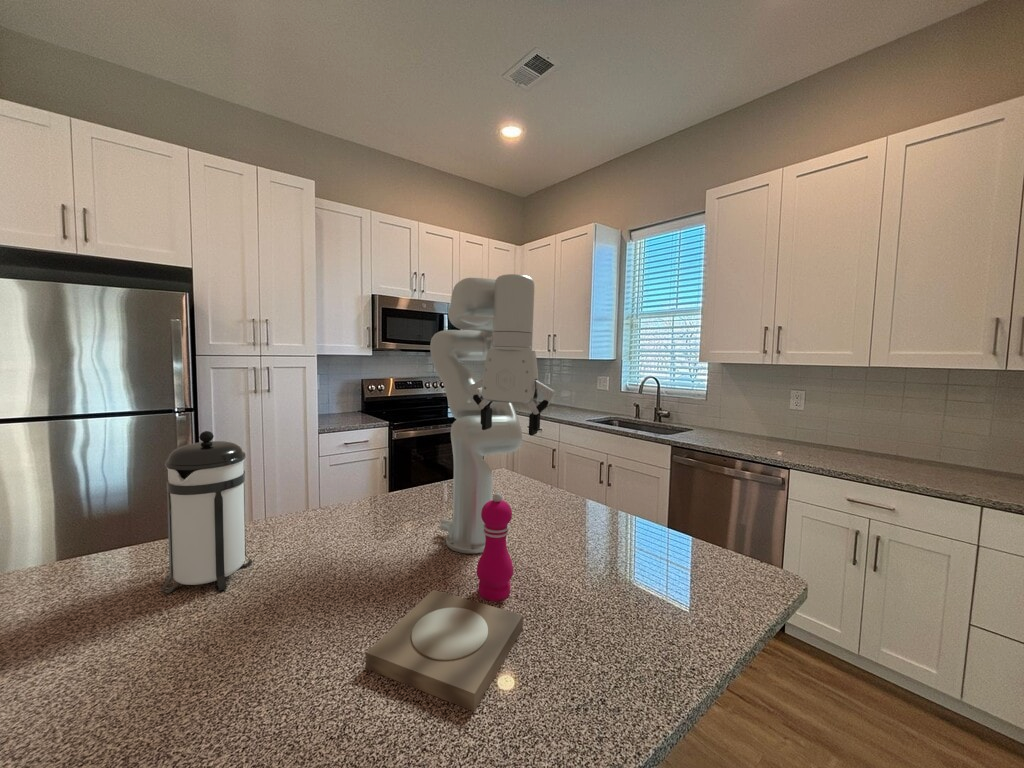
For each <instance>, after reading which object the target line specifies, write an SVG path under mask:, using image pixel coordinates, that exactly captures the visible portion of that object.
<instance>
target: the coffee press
mask: <svg viewBox="0 0 1024 768" xmlns="http://www.w3.org/2000/svg"><path fill="white" fill-rule="evenodd" d="M213 439H214V434H213V432H212V431H209V430H204V431H203V432H201V433H200V435H199V440H200V441H201V442H193V443H190V444H185V445H181V446H180V447H177V448H176V449H174V450H172V451H171V452H170V453H169V455H168V458H167V459H166V460H164V466H165V468H166V469H167V479H166V491H167V497H166V498H167V502H166V503H167V525H168V526H167V532H168V533H167V534H168V535H167V537H168V561H169V562H168V563H169V564H168V565H169V568H168V569H169V570H168V571H169V575H168V577H167V579H166V581H165V582H164V584H163V585H162V587H161V590H162V592H163V593H164V594H166V595H167V594H171V593H172V592H173V591H174V590H175V589H176V588H177V587H178V586H179V585H188V586H196V585H204V584H208V583H212V582H213V584H214V586H215V589H216V590H215V591H216V592H217V593H219V592H222V591H225V590H226V589H227V588H228V587H227V586H228V585H227V581H226V578H227V577H229V576H231V575H233V574H234V573H235V572H237V571H238V570H239V569H240V568H241V567H242V566H244V567H246V568H247V567H249V566H250V567H251V565H252V563H253V560H252V559H251V558H250V557H249V556H248V555H247V549H246V513H245V512H246V511H245V510H246V508H245V507H246V504H245V503H246V502H245V498H246V495H245V481H246V473H245V472H246V471H245V470H244V462H245V459H246V456H247V455H246V452H244V451H243V449H242V447H241V446H240V445H238V444H236V443H234V442H231V441H224V440H223V441H220V440H215V441H214V440H213ZM245 557H246V558H248V561H247V563H244V562H245ZM172 580H173V581H175V582H174V583H173V584H172V586H171V587H169V589H167V590H166V588H168V585H169V584H170V583H171V581H172Z"/></svg>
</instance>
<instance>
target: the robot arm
mask: <svg viewBox="0 0 1024 768" xmlns="http://www.w3.org/2000/svg"><path fill="white" fill-rule="evenodd" d="M534 281H535V280H533V278H532V277H531V276H528V275H524V274H516V273H513V274H512V273H509V274H508V273H507V274H502V275H498V277H497V278H496V279H495V278H494V279H492V278H482V277H466V278H463V279H461V280H459V281H458V282H457V283H455V286H453V290H452V292H451V295H450V296H451V298H450V305H449V308H448V311H447V316H448V318H447V319H448V321H449V322H450V323H451V325H452V326H453V327H455V328H456V329H444V330H440V331H438V332H436V333H434V334H433V336H432V337H431V340H430V346H429V348H430V351H429V352H430V356H431V357H430V358H431V361H432V364H433V367H434V370H435V372H436V373H437V375H438V377H439V379H440V380H441V381H442V384H443V386H444V390H445V391H444V392H445V394H446V398H447V403H448V406H449V410H450V413H451V415H452V417H453V418H454V419H455V420H454V421H453V423H452V424H451V427H450V441H451V448H452V449H451V450H452V455H453V456H452V459H453V487H452V488H453V492H452V493H453V494H452V495H453V497H452V504H453V505H452V520H451V519H447V518H441V521H440V526H439V530H440V531H444V532H447V536H446V537H445V545H446V546H447V547H448V548H449V549H450V550H452V551H454V552H456V553H460V554H472V555H473V554H482V553H483V551H484V548H485V541H486V537H485V534H484V533H483V530H484V528H483V526H484V524H485V523H484V522H483V520H482V518H481V511H482V508H483V506H484V505H485V504H486V503H487V502H489V501H491V500H493V478H494V477H493V471H492V467H490V465H489V464H488V462H486V460H485V459H484V456H487V455H497V454H509V453H514V452H516V451H517V450H518V449H520V447H521V445H522V443H523V431H522V426H521V423H520V421H519V418H518V415H517V413H516V410H515V407H514V405H513V404H523V405H527V407H528V408H529V410H530V412H531V413H530V414H529V418H528V435H529V436H530V437H531V436H532V437H533V436H534V435H537V434H538V431H540V430H541V413H542V412H544V410H546V408H548V407H549V406H550V405H551V402H552V401H553V399H554V398H555V395H556V391H555V390H554V389H552V388H550V387H549V386H547V385H545V384H544V383H542V382H541V381H540V380H539V371H538V361H537V359H538V358H537V353H536V350H533V339H534V338H533V335H534V334H533V332H534V308H535V282H534ZM461 361H468V362H469V361H473V362H474V361H477V362H482V361H485V362H484V368H483V373H482V374H483V375H482V379H480V380H478V381H477V382H476V379H475V376H474V373H473V372H472V371H471V369H469V368H468V367H467V366H466V365H465V364H463V363H462V362H461ZM539 392H541V393H543V394H544V397H543V400H542V401H541V402H540V403H539V401H538V400H537V399H538V396H539Z"/></svg>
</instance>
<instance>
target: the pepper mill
mask: <svg viewBox="0 0 1024 768" xmlns="http://www.w3.org/2000/svg"><path fill="white" fill-rule="evenodd" d="M481 518H482V520H483V522H484V523H485V524H484V526H483V528H484V530H483V533H484V534H485V537H486V541H485V548H484V551H483V552H482V553H481V555H480V557H479V559H478V562H477V566H476V576H477V579H479V582H478V594H479V596H480V597H481V598H482V599H483V600H487V601H490V602H491V601H492V602H497V601H498V602H499V601H503V600H504V599H506V598H508V597H509V596H510V594H511V582H510V580H512V577H513V576H514V565H513V561H512V558H511V555H510V553H509V551H508V548H507V547H508V546H507V535H509V533H510V530H509V529H510V525H509V523H510V522H511V521H512V518H513V510H512V508H511V505H509V503H508V502H506V501H505V500H502V494H501V493H500V492H495V493H493V494H492V500H491V501H489V502H487V503H486V504H485V505H484V506H483V508H482V511H481Z"/></svg>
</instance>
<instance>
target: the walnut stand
mask: <svg viewBox="0 0 1024 768" xmlns="http://www.w3.org/2000/svg"><path fill="white" fill-rule="evenodd" d="M523 626H524V614H521V613H518V612H513V611H510V610H506V609H503V608H499V607H496V606H492V605H489V604H485V603H482V602H479V601H476V600H471V599H468V598H464V597H461V596H457V595H453V594H452V593H447V592H443V591H441V590H440V591H439V590H436V589H432V590H431V591H430V592H429V593H427V594H426V596H425V597H423V599H421V601H419V602H418V603H417V604H416V605H415V606H414V607H413V608H412V609H411V610H410V611H408V613H406V614H405V615H404V617H402V618H401V619H400V620H399V621H398V622H397V623H396V624H395V625H394V626H393V627H391V628H390V630H388V631H387V632H386V633H385V634H384V635H382V637H380V639H379V640H377V641H376V643H374V644H373V645H372V646H371V647H370V648H369V649H368V650H367V651H366V652H365V670H368V671H371V672H374V673H376V674H378V675H381V676H383V677H386V678H389V679H391V680H394V681H395V682H399V683H401V684H403V685H407V686H409V687H411V688H414V689H416V690H418V691H421V692H423V693H426V694H429V695H431V696H433V697H436V698H439V699H441V700H444V701H447V702H450V703H451V704H454V705H457V706H459V707H461V708H464V709H467V710H469V711H471V712H475V711H476V710H477V707H478V706H479V705H480V702H481V701H482V699H483V697H484V696H485V694H486V693H487V690H488V689H489V688H490V685H491V684H492V682H493V680H494V678H495V677H496V675H497V674H498V672H499V671H500V668H501V666H502V665H503V663H504V661H505V660H506V657H508V654H509V653H510V651H511V649H512V648H513V646H514V644H515V643H516V642H517V640H518V638H519V636H520V634H521V633H522V630H523Z"/></svg>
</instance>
